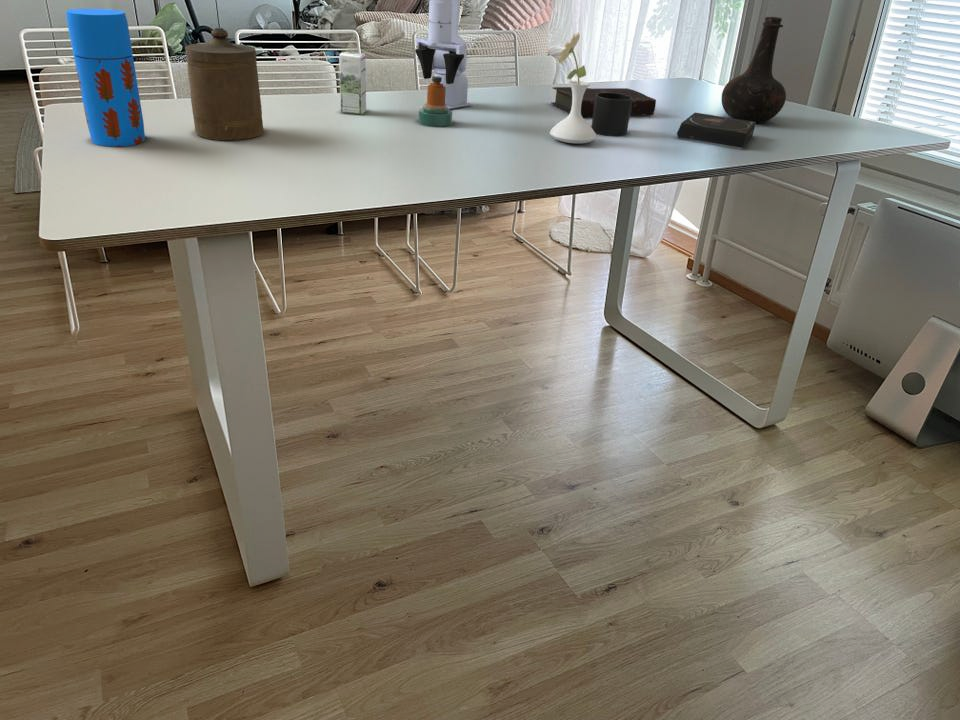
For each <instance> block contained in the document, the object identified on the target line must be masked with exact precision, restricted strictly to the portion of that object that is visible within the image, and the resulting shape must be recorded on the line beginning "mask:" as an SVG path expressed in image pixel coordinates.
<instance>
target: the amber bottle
mask: <svg viewBox="0 0 960 720" xmlns="http://www.w3.org/2000/svg"><path fill="white" fill-rule="evenodd" d="M440 82H442V77H438V76H435V75H434V76H431V82H430V83H429V84H428V85H427V88H426V89H427V91H426V93H427V94H426V102H427V104H429V105H436V106H440V105H445V93H446V87H445V86H443V84H442V83H440Z"/></svg>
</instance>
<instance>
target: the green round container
mask: <svg viewBox="0 0 960 720" xmlns="http://www.w3.org/2000/svg"><path fill="white" fill-rule="evenodd" d="M453 113H454V112H453V111H452V109H449V108H448V107H446V103H445V105H440V106H436V105H429V104H427V101H426V102H425V105H423V106H422V107H421V108H419V110H418V123H419V124H420V125H422V126H427V127H434V128H443V127H445V128H446V127H449V126H452V125H453Z"/></svg>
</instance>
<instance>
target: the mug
mask: <svg viewBox="0 0 960 720" xmlns="http://www.w3.org/2000/svg"><path fill="white" fill-rule="evenodd" d="M631 105H632V97H630V96H628V95H624V94H618V93H598V94H596V97H595V104H594V111H593V116H592V119H591V125H590V127H591V128H592V129H593V130H594V132H595V134H598V135H601V136H609V137H620V136H625V135H627V133H628V129H629V124H630V123H629V122H630V117H631V116H632V115H631V112H632V108H631Z"/></svg>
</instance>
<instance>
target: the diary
mask: <svg viewBox="0 0 960 720" xmlns="http://www.w3.org/2000/svg"><path fill="white" fill-rule="evenodd" d="M552 89H553V90H555V91H556V92H555V102H554V101H553V102H550V104H551V105H553V106H555V107H557V108H558V109H561V110H563V111H565V112H567V113H568V114H570V112H571V108H572V89H571V86H566V87H565V86H553V87H552ZM598 93H618V94H624V95H628V96H630V97H632V105H631V108H632V112H631V115H630V116H653V115H655V111H656V107H657V106H656V105H657V100H656V98H653V97H651V96H648V95H646V94H644V93H642V92H641V91H638V90H635V89H631V88H626V87H621V88H620V87H619V88H618V87H615V88H614V87H612V88H611V87H610V88H609V87H608V88H607V87H605V88H603V87H602V88H601V87H600V88H598V87H597V88H596V87H595V88H589V87H587V89H586V90H585V92H584V95H583V99H582V103H581V116H582V117H593V111H594V104H595V97H596V94H598Z"/></svg>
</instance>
